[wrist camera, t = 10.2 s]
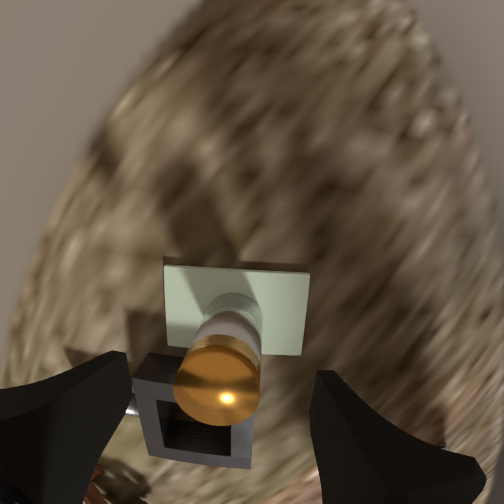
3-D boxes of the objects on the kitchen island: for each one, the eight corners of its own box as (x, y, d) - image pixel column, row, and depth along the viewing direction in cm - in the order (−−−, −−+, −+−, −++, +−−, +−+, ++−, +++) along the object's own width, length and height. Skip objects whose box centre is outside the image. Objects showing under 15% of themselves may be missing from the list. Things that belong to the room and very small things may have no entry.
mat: (309, 272, 17) (310, 274, 17) (300, 352, 18) (300, 355, 18) (166, 264, 17) (163, 266, 17) (169, 342, 18) (167, 345, 18)
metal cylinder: (261, 345, 18) (257, 428, 11) (206, 341, 18) (177, 420, 11) (263, 293, 17) (260, 363, 10) (205, 290, 17) (168, 355, 10)
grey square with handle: (257, 364, 18) (256, 393, 15) (252, 439, 20) (250, 469, 17) (73, 339, 19) (51, 358, 16) (92, 412, 20) (76, 434, 17)
